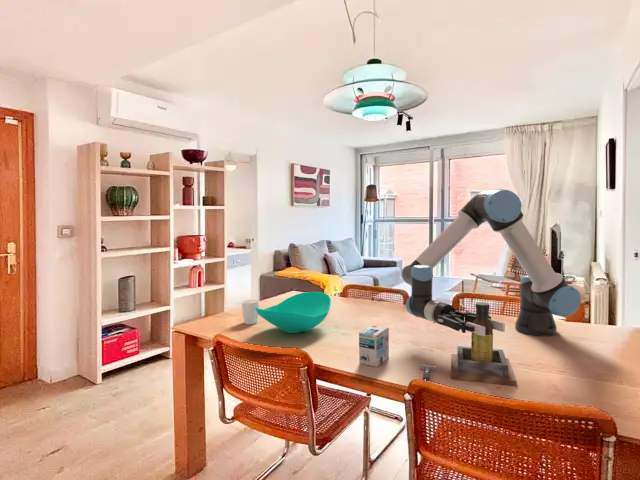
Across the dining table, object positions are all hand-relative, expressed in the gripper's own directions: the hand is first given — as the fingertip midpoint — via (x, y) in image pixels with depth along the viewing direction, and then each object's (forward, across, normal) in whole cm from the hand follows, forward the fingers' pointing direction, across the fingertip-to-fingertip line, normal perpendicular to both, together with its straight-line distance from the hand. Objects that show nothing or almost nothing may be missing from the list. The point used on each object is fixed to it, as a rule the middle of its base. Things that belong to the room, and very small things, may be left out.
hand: (494, 329), depth 123 cm
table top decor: (-74, +34, -15) cm, 83 cm away
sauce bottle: (-5, 0, -13) cm, 14 cm away
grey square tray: (-5, 0, -14) cm, 15 cm away
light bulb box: (-29, +24, -15) cm, 40 cm away
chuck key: (-11, +16, -14) cm, 25 cm away
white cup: (-97, +47, -15) cm, 108 cm away
